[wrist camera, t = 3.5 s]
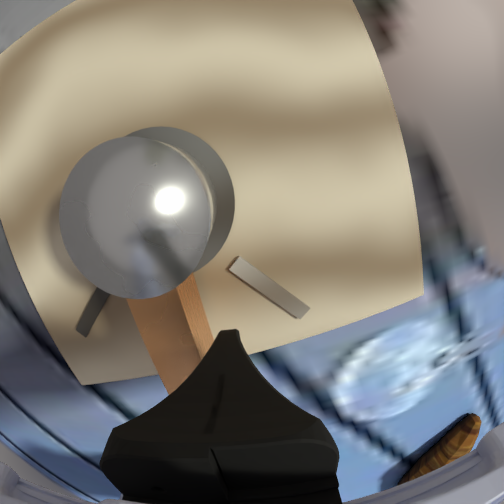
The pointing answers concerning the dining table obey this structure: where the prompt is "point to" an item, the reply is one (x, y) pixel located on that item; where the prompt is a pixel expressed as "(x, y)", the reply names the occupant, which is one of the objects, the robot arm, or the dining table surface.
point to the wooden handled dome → (145, 241)
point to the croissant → (447, 448)
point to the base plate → (215, 164)
